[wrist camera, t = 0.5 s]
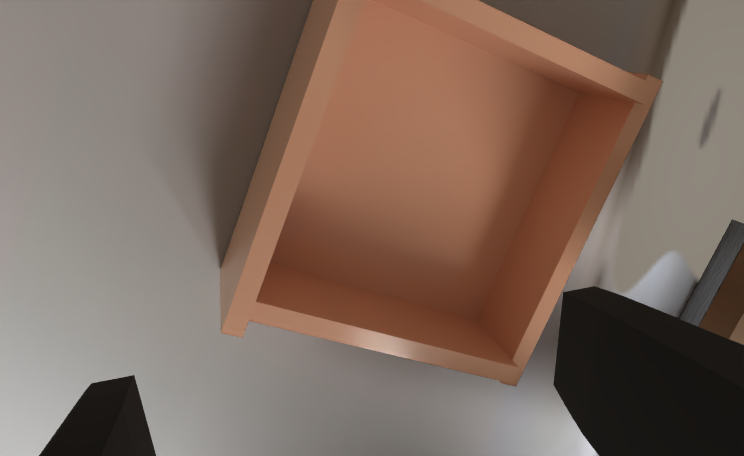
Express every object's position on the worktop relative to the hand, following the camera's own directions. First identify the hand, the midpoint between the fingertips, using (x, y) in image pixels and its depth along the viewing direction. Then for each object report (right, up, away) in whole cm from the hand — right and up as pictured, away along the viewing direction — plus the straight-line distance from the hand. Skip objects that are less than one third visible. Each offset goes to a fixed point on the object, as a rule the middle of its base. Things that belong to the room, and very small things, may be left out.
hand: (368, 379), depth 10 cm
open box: (+2, +5, +11) cm, 12 cm away
